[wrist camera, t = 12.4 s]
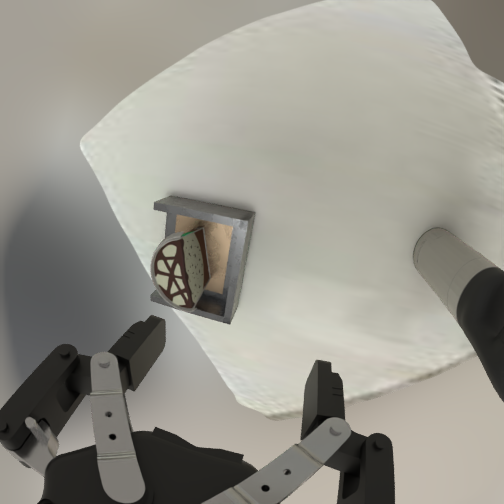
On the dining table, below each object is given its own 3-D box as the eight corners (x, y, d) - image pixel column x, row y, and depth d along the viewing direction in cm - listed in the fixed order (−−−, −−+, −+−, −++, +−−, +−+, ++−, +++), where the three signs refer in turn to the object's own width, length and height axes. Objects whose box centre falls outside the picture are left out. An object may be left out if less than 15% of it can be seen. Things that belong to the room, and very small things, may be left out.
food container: (170, 219, 46) (139, 237, 37) (203, 218, 45) (177, 235, 36) (181, 284, 50) (156, 312, 41) (212, 285, 49) (192, 315, 40)
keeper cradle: (255, 212, 45) (248, 221, 39) (237, 306, 51) (230, 324, 46) (171, 195, 46) (154, 202, 41) (164, 286, 53) (150, 300, 47)
